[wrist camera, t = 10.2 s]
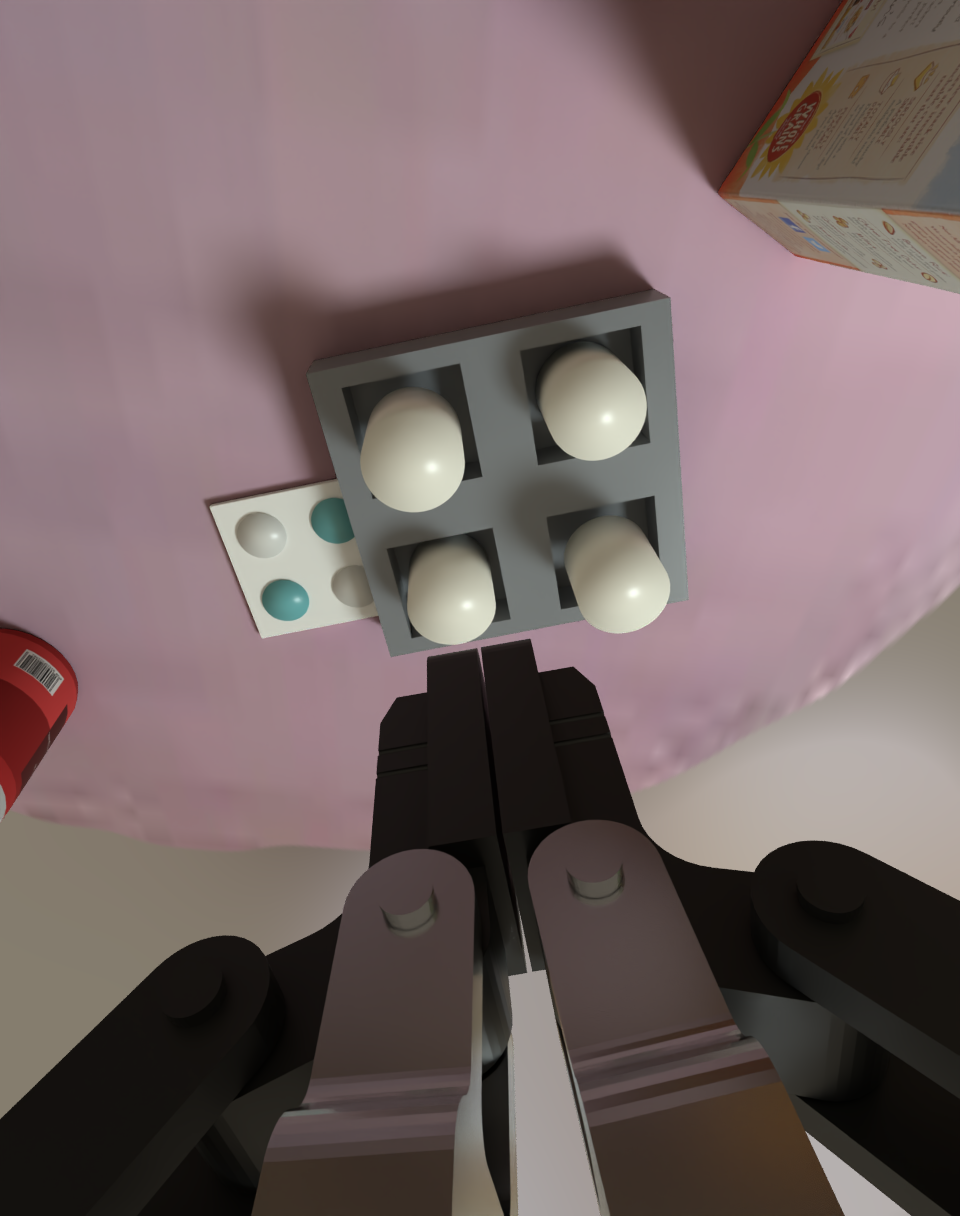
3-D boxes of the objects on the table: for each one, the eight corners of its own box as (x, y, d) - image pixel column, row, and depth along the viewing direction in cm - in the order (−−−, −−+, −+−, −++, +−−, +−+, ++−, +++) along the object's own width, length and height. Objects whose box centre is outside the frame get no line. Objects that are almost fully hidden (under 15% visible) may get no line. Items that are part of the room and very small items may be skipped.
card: (262, 635, 48) (261, 639, 48) (211, 504, 44) (208, 508, 43) (402, 607, 48) (402, 612, 47) (365, 473, 43) (364, 476, 43)
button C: (419, 610, 47) (418, 651, 43) (400, 540, 44) (397, 577, 40) (496, 595, 47) (502, 635, 43) (481, 524, 44) (486, 560, 40)
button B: (542, 440, 42) (554, 469, 38) (529, 352, 40) (540, 372, 36) (629, 423, 42) (650, 450, 38) (621, 332, 39) (642, 351, 35)
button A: (380, 486, 41) (375, 521, 37) (356, 397, 38) (347, 424, 34) (469, 468, 40) (473, 501, 36) (450, 378, 38) (453, 402, 34)
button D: (569, 598, 45) (583, 641, 41) (558, 524, 42) (571, 561, 38) (651, 583, 45) (673, 623, 41) (644, 507, 42) (667, 543, 38)
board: (392, 630, 49) (390, 656, 46) (313, 360, 40) (305, 374, 38) (674, 576, 48) (688, 599, 45) (654, 288, 39) (670, 297, 37)
